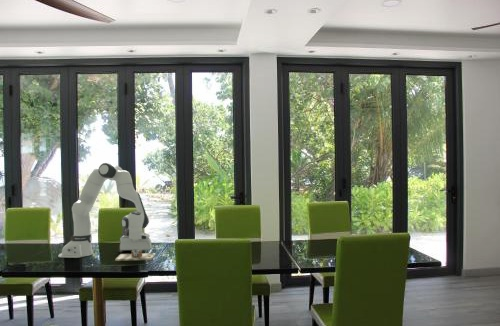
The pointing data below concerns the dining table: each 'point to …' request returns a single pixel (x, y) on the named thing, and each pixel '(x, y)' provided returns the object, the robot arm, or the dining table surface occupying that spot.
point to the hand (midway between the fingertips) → (135, 256)
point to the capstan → (137, 253)
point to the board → (128, 257)
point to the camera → (124, 233)
